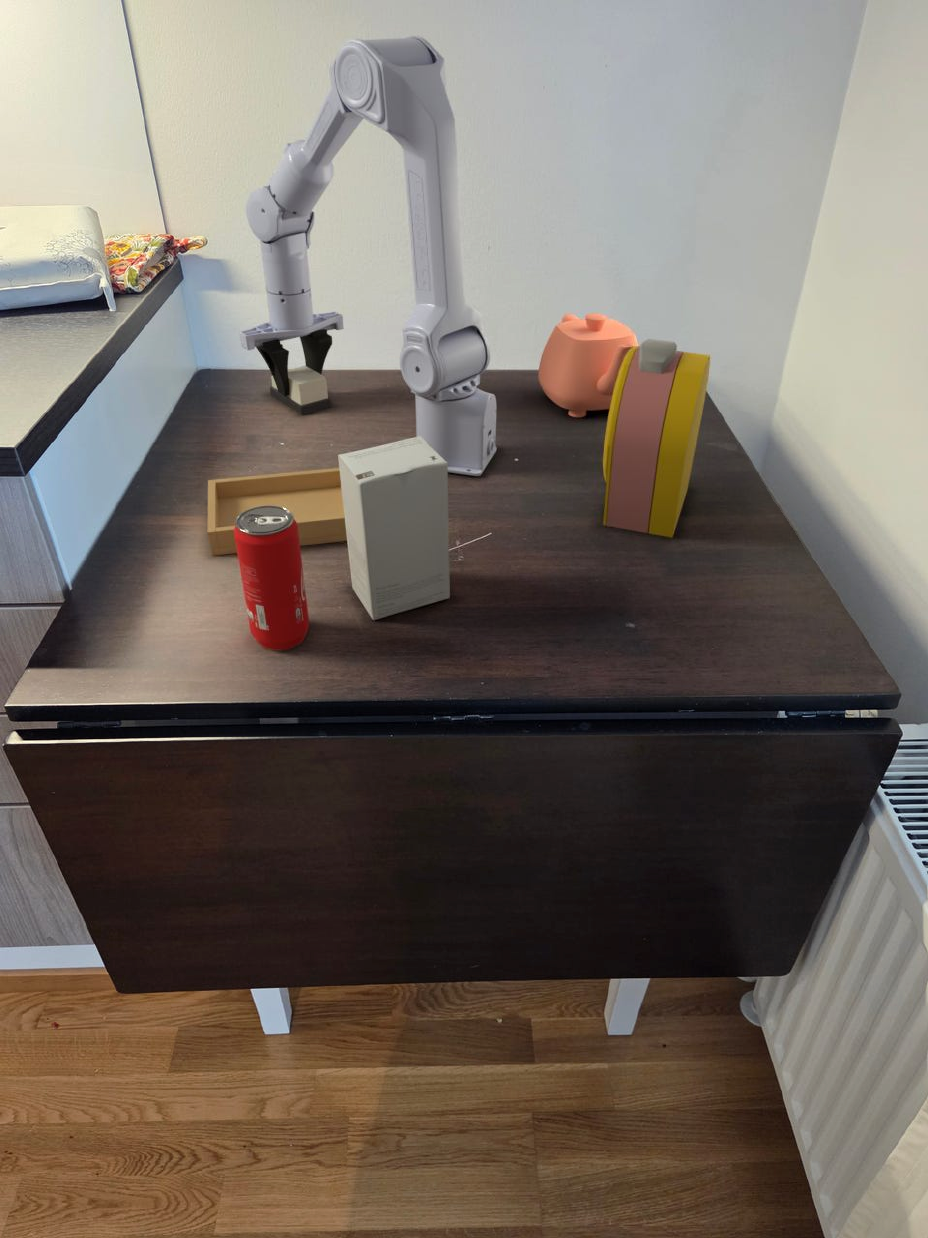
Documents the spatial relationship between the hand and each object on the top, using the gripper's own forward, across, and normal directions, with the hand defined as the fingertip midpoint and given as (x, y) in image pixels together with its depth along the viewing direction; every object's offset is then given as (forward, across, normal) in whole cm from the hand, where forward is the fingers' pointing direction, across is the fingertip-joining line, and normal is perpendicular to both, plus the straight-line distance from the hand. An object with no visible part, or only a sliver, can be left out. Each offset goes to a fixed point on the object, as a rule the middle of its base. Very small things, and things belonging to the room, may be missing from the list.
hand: (299, 389), depth 121 cm
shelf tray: (+2, +18, +28) cm, 34 cm away
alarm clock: (+2, -16, +50) cm, 53 cm away
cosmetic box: (+2, +16, +48) cm, 51 cm away
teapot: (+2, -31, +26) cm, 41 cm away
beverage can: (+2, +28, +47) cm, 55 cm away
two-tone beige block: (+2, 0, 0) cm, 2 cm away
